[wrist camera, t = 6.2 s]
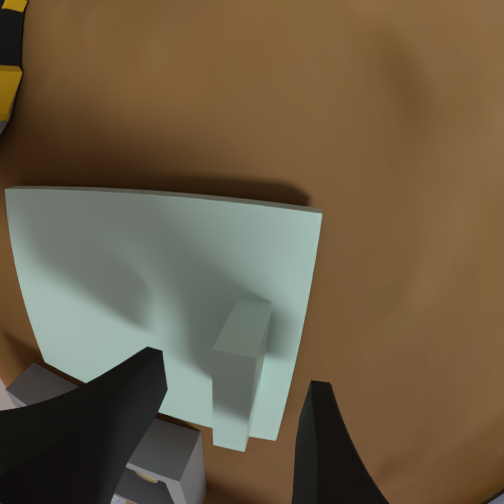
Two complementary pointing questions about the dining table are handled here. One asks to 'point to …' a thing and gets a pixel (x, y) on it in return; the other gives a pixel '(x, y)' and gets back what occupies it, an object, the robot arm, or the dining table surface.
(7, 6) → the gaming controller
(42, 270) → the lid
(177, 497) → the tub
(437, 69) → the dining table surface
